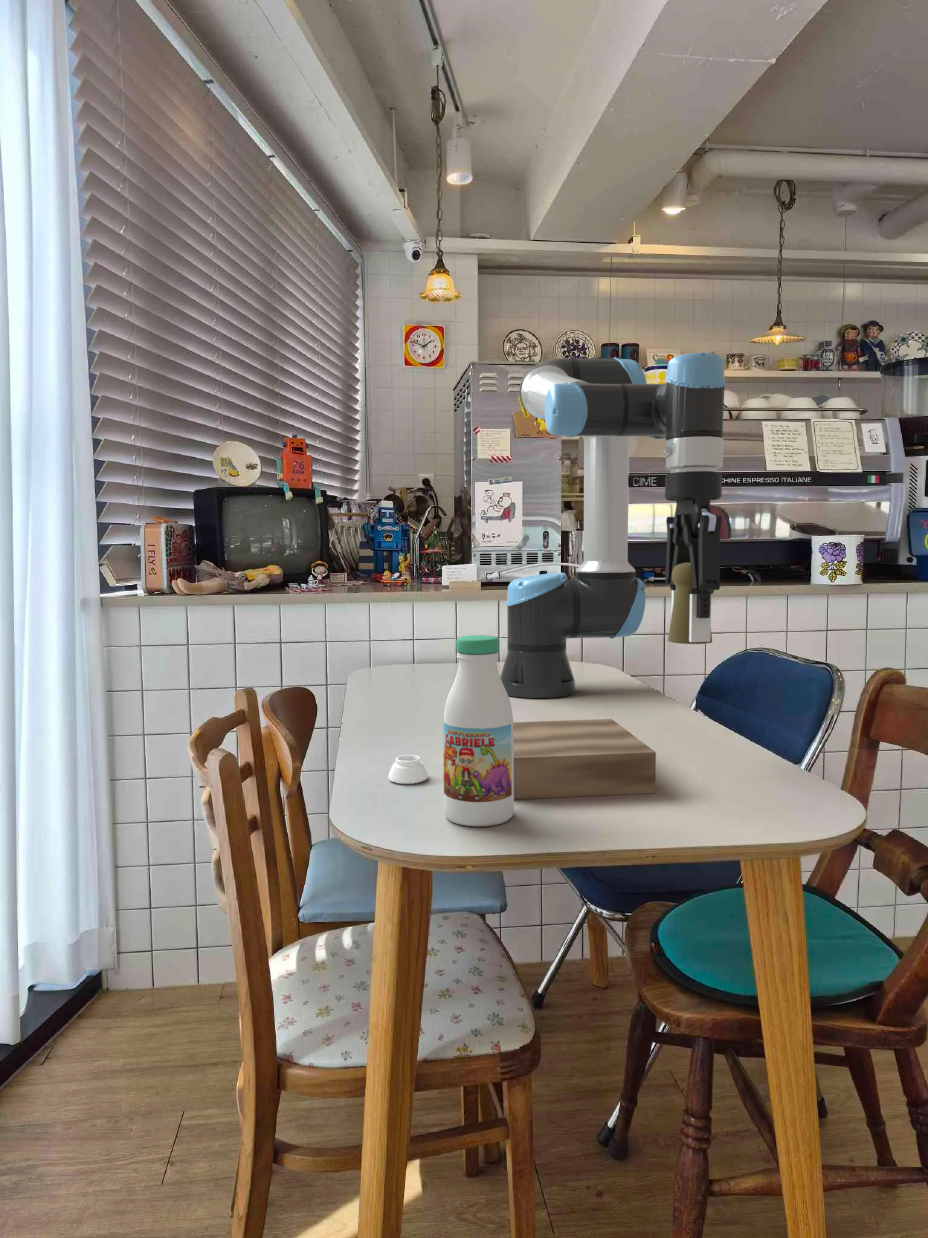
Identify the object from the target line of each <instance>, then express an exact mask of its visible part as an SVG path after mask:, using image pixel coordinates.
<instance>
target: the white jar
mask: <svg viewBox="0 0 928 1238" xmlns="http://www.w3.org/2000/svg"><path fill="white" fill-rule="evenodd" d="M428 775H429V774H428V771H427V769H426V768H425V765H424V763H423V762H422V761H421V759H420V756H418V755H413V754H405V755H404V754H403V755H399V756H397V757H395V762H394V763H393V764H392V766H391V768H390V769H389V773H388V780H389V781H391V782H392V783H394V782H395V784H397V785H414V784H415V783H416V784H419V783H422V782H424V781H426V780H427V779H428V777H429V776H428Z"/></svg>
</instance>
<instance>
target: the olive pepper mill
mask: <svg viewBox="0 0 928 1238" xmlns="http://www.w3.org/2000/svg"><path fill="white" fill-rule="evenodd" d="M672 580H673V583H674V584H675V586H676V590H675V597H674V603H673V610H672V616H671V615H670V618H671V619H670V622H669V623H670V625H669V630H668V631H669V632H668V637H667V642H669V643H674V644H681V645H682V644H684V645H703V644H704V645H705V644H712V643H713V637H712V636H713V634H712V631H711V632H710V642H689V619H690V594H689V593H688V591H689V590H690V589H693V583H692V573H691V563H682V564H678V565H676V566H675V567H674V569H673V572H672Z"/></svg>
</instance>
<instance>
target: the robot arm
mask: <svg viewBox="0 0 928 1238" xmlns="http://www.w3.org/2000/svg"><path fill="white" fill-rule="evenodd" d="M666 369H667V371H666V375H665V381H666V383H647V379H646V376H645V372H644V370H643V368H642V366H641V365H640V364H639V363H638V362H637V361H635V360H633V359H629V358H625V359H624V358H618V357H603V358H602V357H601V358H600V357H599V358H598V357H596V358H595V357H594V358H593V357H592V358H591V357H589V358H588V357H587V358H585V357H584V358H583V357H581V358H580V357H579V358H575V357H574V358H573V357H572V358H570V357H558V358H554V359H549V360H546V361H543V362H541V363H537V364H536V365H534V366H533V367H531V368H530V369H529V370H527V371H526V373H525V374H524V375H523V377H522V379H521V381H520V383H519V384H520V385H519V390H518V393H519V401H520V403H521V405H522V407H523V408H524V410H525V411H526V412H527V413H529V414H530V415H532V416H533V417H535V418H537V419H541V420H544V422H545V423H544V424H545V426H546V430H547V433H549V434H550V435H552V436H559V437H560V436H561V437H568V438H574V437H581V438H583V448H584V449H583V561H582V563H581V565H579V566H578V568H576V570H575V579H568V576H567V574H566V573H565V572H553V573H552V572H551V573H543V574H542V573H541V574H535V575H528V576H524V577H519V578H515V579H513V580H511V581H510V582H509V584H508V586H507V595H506V599H507V600H506V603H505V604H506V606H507V608H506V609H507V615H506V616H507V617H506V618H507V619H506V620H507V641H506V643H507V650H506V651H507V652H506V657H505V660H504V662H503V666H502V669H501V672H500V678H501V681H502V683H503V685H504V688H505V690H506V692H507V694H508V697H509V696H510V697H514V698H523V699H549V698H551V699H552V698H561V697H566V696H570V695H573V694H575V693H576V679H575V676H574V674H573V671H572V667H571V665H570V660H569V658H568V655H567V639H595V638H596V639H600V638H603V639H604V638H606V639H607V638H609V639H616V638H624V637H631V636H632V635H634V634H635V633H636V632H637V631H638V630H639V628H640V626H641V624H642V621H643V617H644V615H645V614H644V613H645V609H646V608H645V607H646V597H647V596H646V592H645V590H646V587H645V583H644V582H643V580H641V579H640V578H639V577H636V569H635V568H634V566H632V565H631V564H630V562H629V561H628V559H629V557H628V554H629V553H628V552H629V550H628V549H629V547H628V546H629V545H628V543H629V540H628V539H629V531H628V530H629V440H630V437H649V438H651V439H655V440H663V439H665V440H666V441H665V443H666V444H665V446H664V447H663V449H662V452H663V454H664V455H665V469H667V470H668V471H670V473H667V474H666V476H665V477H664V478H665V479H664V480H665V481H664V484H665V485H664V498H665V500H666V501H668V502H676V505H675V512H674V515H673V516H667V517H666V520H665V521H666V532H667V533H666V556H665V560H666V561H665V579H664V581H665V584H666V585H669V589H670V590H671V604H670V605H671V609H670V610H671V613H670V614H671V615H670V617H671V616H672V610H673V603H674V597H675V590H676V586H675V584H674V583H673V580H672V572H673V569H674V567H675V566H676V565H678V564H682V563H691V573H692V583H693V589H690V590H689V591H688V593H689V594H690V619H689V642H710V632H711V633H712V627H711V625H712V623H711V621H712V619H711V618H712V595H713V594H714V592H715V591H720V589H721V539H720V538H721V528H722V521H723V520H722V515H721V514H712V513H713V512H712V508H711V501H718V500H720V499H721V498H722V493H723V492H722V491H723V475H722V473H721V472H720V471H719V469H722V467H724V466H723V465H724V408H725V405H724V404H725V386H726V380H725V361H724V359H723V357H721V356H720V355H719V354H716V353H710V352H691V353H684V354H680V355H676V356H674V357H672V358H671V359H669V361H668V364H667V368H666Z"/></svg>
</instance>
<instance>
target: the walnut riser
mask: <svg viewBox="0 0 928 1238" xmlns="http://www.w3.org/2000/svg"><path fill="white" fill-rule="evenodd" d="M513 748H514V801H515V800H533V799H554V798H558V799H559V798H574V797H577V798H578V797H594V796H595V797H596V796H597V797H598V796H615V795H616V796H617V795H618V796H619V795H638V794H656V775H657V774H656V768H657V767H656V765H657V764H656V760H657V752H656V751H655V750H654V749H652V747H650V746H648V745H647V744H646V743H645V742H643V741H642V740H641V739H639V738H638V737H636V736H635V735H634V734H632V732H630V731H628V730H627V729H626V728H624V727H623V726H622V725H620V724H619V723H618V722H617V721H615V720H613V719H612V718H600V719H599V718H596V719H571V720H570V719H568V720H544V721H543V720H541V721H516V722H514V721H513Z"/></svg>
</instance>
